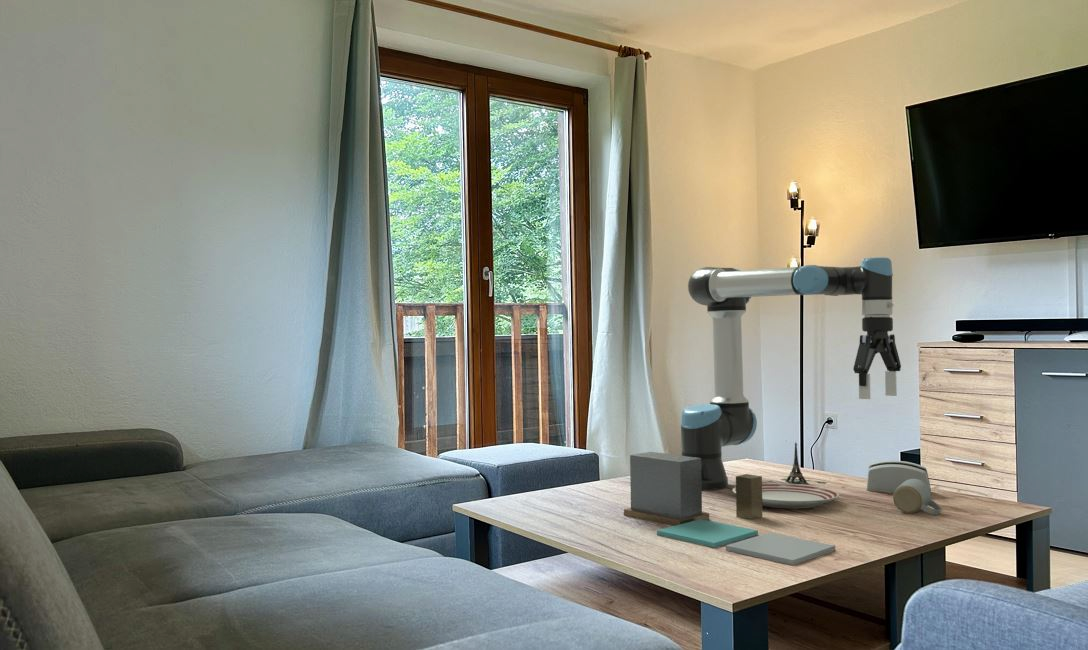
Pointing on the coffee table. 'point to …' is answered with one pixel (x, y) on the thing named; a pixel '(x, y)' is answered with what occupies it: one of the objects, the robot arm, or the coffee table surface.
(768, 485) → the dinner plate
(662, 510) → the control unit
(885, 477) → the napkin holder
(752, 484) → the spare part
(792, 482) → the eiffel tower figurine
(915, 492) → the ceramic mug
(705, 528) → the teal pad
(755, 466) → the coffee table surface
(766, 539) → the grey pad
